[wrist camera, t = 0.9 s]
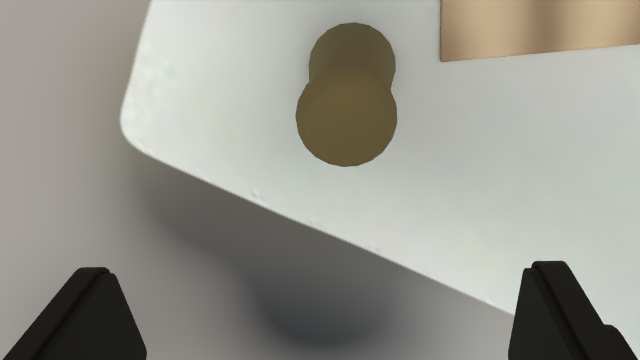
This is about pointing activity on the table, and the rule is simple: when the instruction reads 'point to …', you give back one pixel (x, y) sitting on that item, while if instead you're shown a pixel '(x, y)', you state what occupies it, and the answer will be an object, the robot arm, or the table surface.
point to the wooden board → (534, 26)
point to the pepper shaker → (348, 96)
